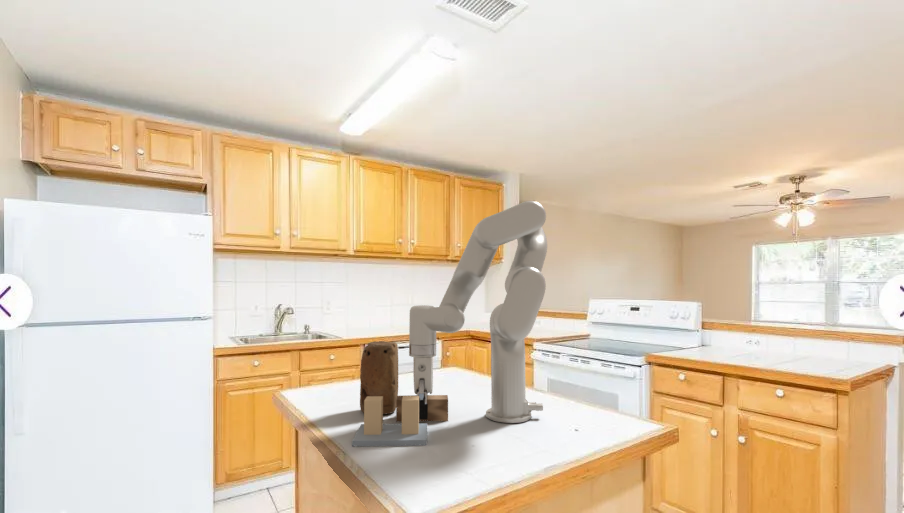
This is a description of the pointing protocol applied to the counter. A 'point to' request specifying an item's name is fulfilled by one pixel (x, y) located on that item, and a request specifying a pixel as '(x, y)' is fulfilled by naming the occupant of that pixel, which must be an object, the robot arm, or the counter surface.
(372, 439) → the base
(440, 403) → the beam
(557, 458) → the counter surface
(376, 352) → the brown rounded tall lump
